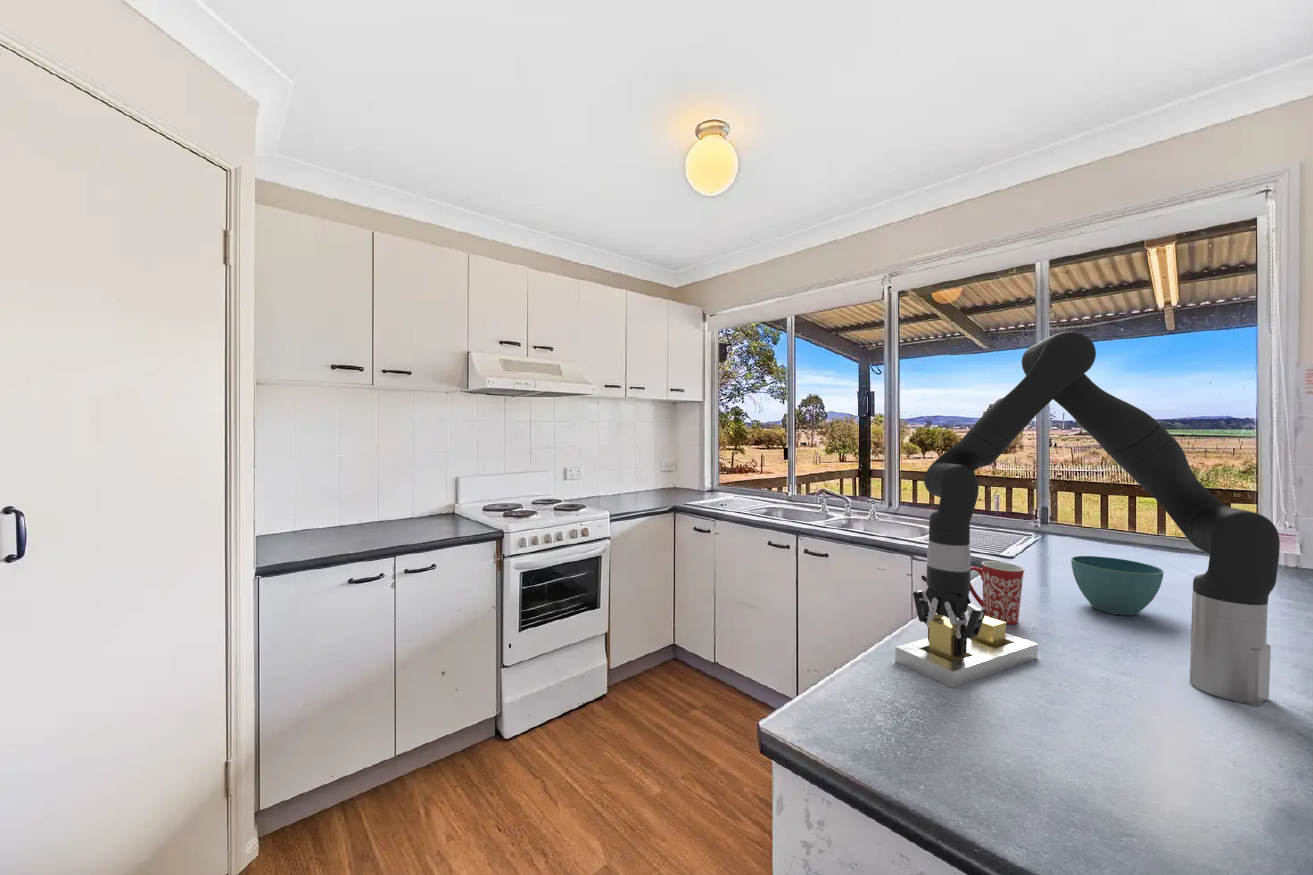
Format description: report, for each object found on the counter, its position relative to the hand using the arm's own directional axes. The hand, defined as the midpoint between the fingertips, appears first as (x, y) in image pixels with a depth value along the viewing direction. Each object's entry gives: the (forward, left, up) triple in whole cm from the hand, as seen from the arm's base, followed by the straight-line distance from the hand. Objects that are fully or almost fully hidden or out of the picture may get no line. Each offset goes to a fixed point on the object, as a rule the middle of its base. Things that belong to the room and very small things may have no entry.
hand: (946, 650), depth 104 cm
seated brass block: (0, -14, -3) cm, 14 cm away
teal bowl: (+1, -72, -4) cm, 72 cm away
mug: (+12, -37, -3) cm, 39 cm away
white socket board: (0, -7, -3) cm, 8 cm away
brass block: (0, 0, -1) cm, 1 cm away
